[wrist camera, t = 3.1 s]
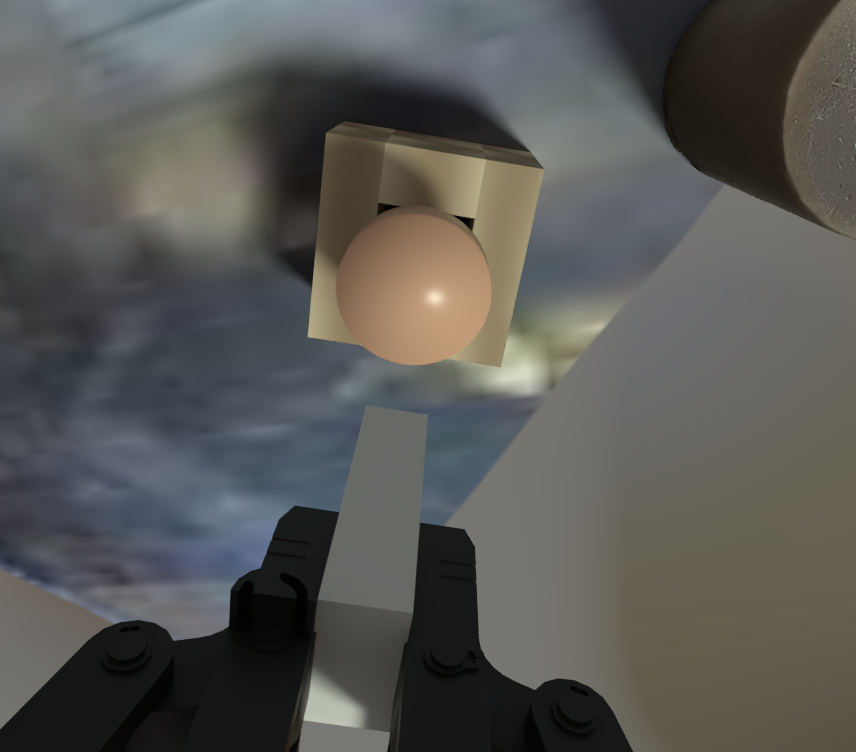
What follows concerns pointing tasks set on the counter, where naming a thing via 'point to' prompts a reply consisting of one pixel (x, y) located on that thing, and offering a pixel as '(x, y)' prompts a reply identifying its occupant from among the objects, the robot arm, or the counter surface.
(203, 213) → the counter surface
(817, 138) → the pillar candle
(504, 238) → the housing
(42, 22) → the counter surface
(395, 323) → the knob
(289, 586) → the robot arm
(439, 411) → the counter surface
